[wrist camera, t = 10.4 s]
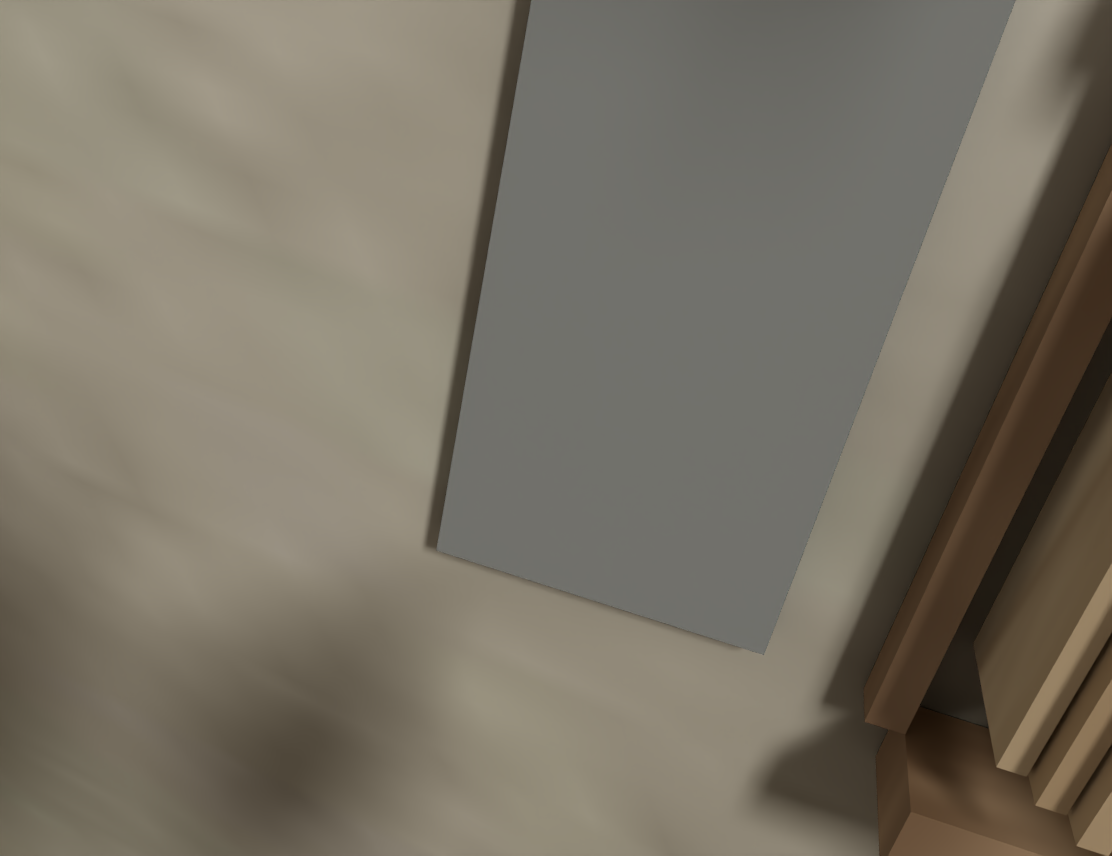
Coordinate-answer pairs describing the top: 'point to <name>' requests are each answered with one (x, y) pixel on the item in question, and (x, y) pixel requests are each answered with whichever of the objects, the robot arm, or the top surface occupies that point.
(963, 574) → the walnut rack
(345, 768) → the top surface
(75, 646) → the top surface
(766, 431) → the grey mat
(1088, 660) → the offcut bundle
